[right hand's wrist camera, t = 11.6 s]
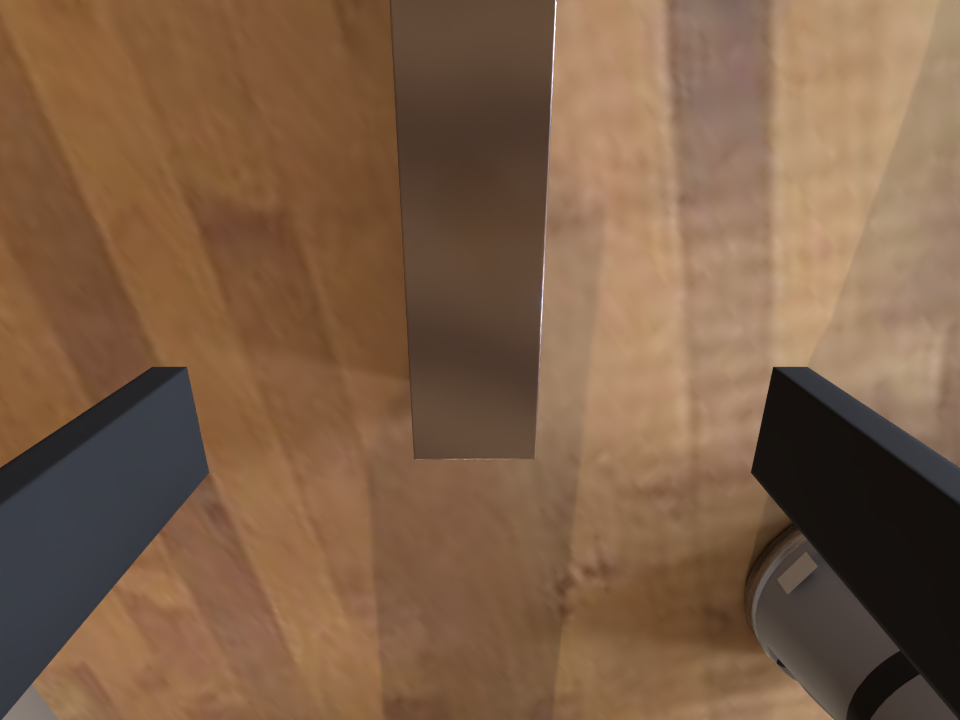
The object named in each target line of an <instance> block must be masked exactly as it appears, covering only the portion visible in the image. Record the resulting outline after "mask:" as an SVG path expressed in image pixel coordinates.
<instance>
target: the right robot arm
mask: <svg viewBox="0 0 960 720" xmlns="http://www.w3.org/2000/svg"><path fill="white" fill-rule="evenodd" d="M208 473H209V470H208V466H207V461H206V456H205V451H204V447H203V442H202V437H201V432H200V428H199V423H198V418H197V413H196V409H195V404H194V399H193V394H192V390H191V385H190V380H189V375H188V371H187V367H152V368H150V369H149V370H147V371H146V372H144V373H143V374H141V375H140V376H138V377H137V378H135V379H134V380H132V381H131V382H129V383H128V384H126V385H125V386H123V387H122V388H120V389H119V390H117V391H116V392H114V393H113V394H111V395H110V396H108V397H106V398H105V399H103V400H102V401H100V402H99V403H97V404H96V405H94V406H93V407H91V408H90V409H88V410H87V411H85V412H84V413H82V414H81V415H79V416H78V417H76V418H75V419H73V420H72V421H70V422H69V423H67V424H66V425H64V426H63V427H61V428H60V429H58V430H57V431H55V432H54V433H52V434H51V435H49V436H48V437H46V438H45V439H43V440H42V441H40V442H39V443H37V444H36V445H34V446H33V447H31V448H30V449H28V450H27V451H25V452H24V453H22V454H21V455H19V456H18V457H16V458H15V459H13V460H12V461H10V462H9V463H7V464H6V465H4V466H3V467H1V468H0V720H2V719H3V717H4V716H5V715H6V714H7V713H8V711H9V710H10V709H11V708H12V707H13V705H14V704H15V703H16V702H17V701H18V700H19V698H20V697H21V696H22V695H23V694H24V692H25V691H26V690H27V689H28V688H29V686H30V685H31V684H32V683H33V682H34V681H35V679H36V678H37V677H38V676H39V675H40V673H41V672H42V671H43V670H44V669H45V667H46V666H47V665H48V664H49V663H50V661H51V660H52V659H53V658H54V657H55V655H56V654H57V653H58V652H59V651H60V650H61V648H62V647H63V646H64V645H65V644H66V642H67V641H68V640H69V639H70V638H71V636H72V635H73V634H74V633H75V632H76V630H77V629H78V628H79V627H80V626H81V625H82V623H83V622H84V621H85V620H86V619H87V617H88V616H89V615H90V614H91V613H92V611H93V610H94V609H95V608H96V607H97V605H98V604H99V603H100V602H101V601H102V599H103V598H104V597H105V596H106V595H107V594H108V592H109V591H110V590H111V589H112V588H113V586H114V585H115V584H116V583H117V582H118V580H119V579H120V578H121V577H122V576H123V574H124V573H125V572H126V571H127V570H128V569H129V567H130V566H131V565H132V564H133V563H134V561H135V560H136V559H137V558H138V557H139V555H140V554H141V553H142V552H143V551H144V549H145V548H146V547H147V546H148V545H149V543H150V542H151V541H152V540H153V539H154V538H155V536H156V535H157V534H158V533H159V532H160V530H161V529H162V528H163V527H164V526H165V524H166V523H167V522H168V521H169V520H170V518H171V517H172V516H173V515H174V514H175V512H176V511H177V510H178V509H179V508H180V507H181V505H182V504H183V503H184V502H185V501H186V499H187V498H188V497H189V496H190V495H191V493H192V492H193V491H194V490H195V489H196V487H197V486H198V485H199V484H200V483H201V482H202V480H203V479H204V478H205V477H206V476H207V474H208ZM751 473H752V474H753V476H754V477H755V478H756V479H757V480H758V482H759V483H760V484H761V485H762V486H763V487H764V489H765V490H766V491H767V492H768V493H769V495H770V496H771V497H772V498H773V499H774V501H775V502H776V503H777V504H778V505H779V507H780V508H781V509H782V510H783V511H784V512H785V514H786V515H787V516H788V517H789V518H790V520H791V521H792V522H793V523H794V525H792V526H791V527H790V528H788V529H787V530H786V531H784V532H783V533H782V534H781V535H780V536H778V537H777V538H776V539H775V540H774V541H773V542H772V543H771V544H770V545H769V546H768V548H767V549H766V550H765V551H764V552H763V554H762V555H761V556H760V558H759V559H758V561H757V562H756V564H755V566H754V567H753V569H752V571H751V574H750V576H749V578H748V582H747V585H746V589H745V596H744V607H745V613H746V618H747V620H748V623H749V625H750V627H751V629H752V631H753V632H754V634H755V636H756V638H757V640H758V641H759V643H760V645H761V647H762V648H763V650H764V651H765V653H766V654H767V655H768V656H769V657H770V658H771V659H772V661H773V662H774V663H775V664H776V665H777V666H778V667H779V668H780V669H781V670H782V671H783V672H785V673H786V674H787V675H788V676H790V677H791V678H793V679H794V680H796V681H798V682H799V683H800V685H801V686H802V687H803V688H804V690H805V691H806V692H807V693H808V694H809V695H810V696H811V697H812V698H813V699H814V700H815V701H816V702H817V703H818V704H819V705H820V706H821V707H822V708H823V709H824V710H825V711H826V712H827V713H828V714H829V715H830V716H831V717H832V718H833V719H834V720H960V468H959V467H957V466H956V465H954V464H953V463H951V462H950V461H948V460H947V459H945V458H944V457H942V456H941V455H939V454H938V453H936V452H935V451H933V450H932V449H930V448H929V447H927V446H926V445H924V444H923V443H921V442H920V441H918V440H917V439H915V438H914V437H912V436H911V435H909V434H908V433H906V432H905V431H903V430H902V429H900V428H899V427H897V426H896V425H894V424H893V423H891V422H890V421H888V420H887V419H885V418H884V417H882V416H881V415H879V414H878V413H876V412H875V411H873V410H872V409H870V408H869V407H867V406H866V405H864V404H863V403H861V402H860V401H858V400H857V399H855V398H853V397H852V396H850V395H849V394H847V393H846V392H844V391H843V390H841V389H840V388H838V387H837V386H835V385H834V384H832V383H831V382H829V381H828V380H826V379H825V378H823V377H822V376H820V375H819V374H817V373H816V372H814V371H813V370H811V369H810V368H808V367H773V371H772V375H771V380H770V385H769V390H768V394H767V399H766V404H765V409H764V413H763V418H762V423H761V428H760V432H759V437H758V442H757V447H756V451H755V456H754V461H753V466H752V470H751Z"/></svg>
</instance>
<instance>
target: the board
mask: <svg viewBox="0 0 960 720" xmlns="http://www.w3.org/2000/svg"><path fill="white" fill-rule="evenodd" d="M556 4H557V0H390V16H391V34H392V53H393V72H394V91H395V109H396V128H397V147H398V166H399V184H400V203H401V222H402V241H403V259H404V278H405V297H406V316H407V334H408V353H409V372H410V391H411V409H412V428H413V447H414V459H415V460H481V459H535V458H536V438H537V416H538V395H539V373H540V351H541V329H542V308H543V286H544V264H545V243H546V221H547V199H548V177H549V156H550V134H551V112H552V90H553V69H554V47H555V25H556Z"/></svg>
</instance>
